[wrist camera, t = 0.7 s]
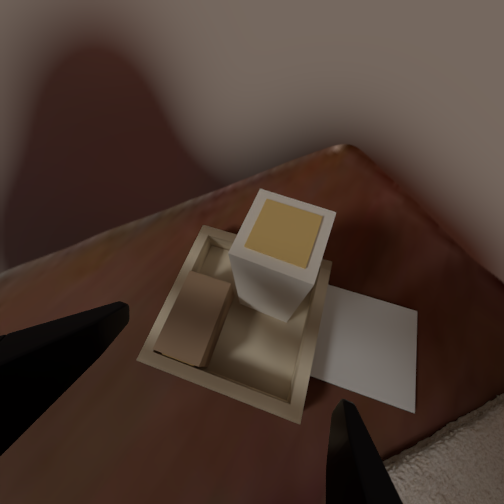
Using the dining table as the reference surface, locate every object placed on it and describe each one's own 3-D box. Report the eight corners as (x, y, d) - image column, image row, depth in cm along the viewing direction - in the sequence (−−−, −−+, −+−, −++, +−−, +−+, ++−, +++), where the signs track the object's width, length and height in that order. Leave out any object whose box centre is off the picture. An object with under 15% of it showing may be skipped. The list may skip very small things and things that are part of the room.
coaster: (410, 412, 20) (414, 413, 20) (308, 375, 22) (309, 375, 21) (413, 312, 24) (417, 311, 24) (326, 286, 25) (327, 284, 25)
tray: (294, 416, 20) (300, 424, 18) (150, 360, 22) (136, 360, 20) (324, 272, 26) (332, 261, 23) (208, 238, 28) (203, 224, 25)
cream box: (286, 322, 23) (314, 284, 12) (239, 303, 24) (227, 252, 13) (301, 276, 25) (337, 209, 14) (258, 260, 26) (261, 185, 15)
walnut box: (207, 368, 22) (198, 368, 18) (168, 353, 22) (151, 351, 18) (234, 295, 24) (230, 283, 21) (199, 284, 25) (189, 270, 21)
